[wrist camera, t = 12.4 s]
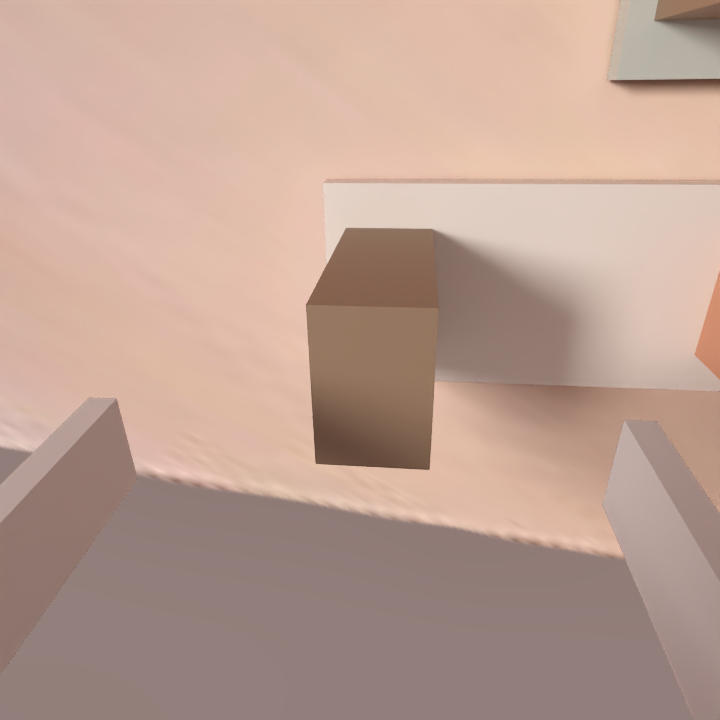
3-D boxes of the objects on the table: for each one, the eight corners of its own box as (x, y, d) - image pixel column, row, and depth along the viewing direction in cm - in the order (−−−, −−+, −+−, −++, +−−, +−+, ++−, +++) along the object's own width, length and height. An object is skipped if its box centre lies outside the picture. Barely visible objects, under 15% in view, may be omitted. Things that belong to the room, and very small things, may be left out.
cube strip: (334, 366, 30) (292, 505, 20) (327, 179, 26) (267, 238, 16) (880, 386, 28) (1140, 556, 18) (980, 181, 23) (1406, 254, 13)
